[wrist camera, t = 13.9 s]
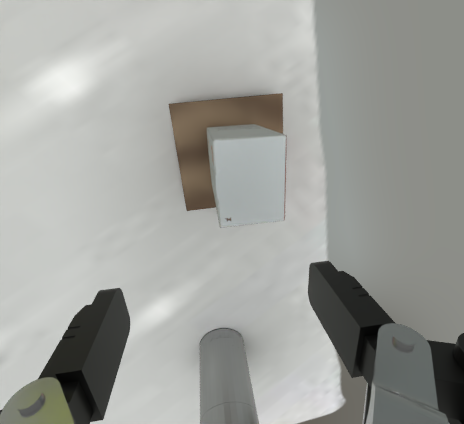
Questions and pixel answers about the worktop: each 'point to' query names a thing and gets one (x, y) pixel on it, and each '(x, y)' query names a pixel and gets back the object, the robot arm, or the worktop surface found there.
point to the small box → (247, 174)
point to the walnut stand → (196, 144)
